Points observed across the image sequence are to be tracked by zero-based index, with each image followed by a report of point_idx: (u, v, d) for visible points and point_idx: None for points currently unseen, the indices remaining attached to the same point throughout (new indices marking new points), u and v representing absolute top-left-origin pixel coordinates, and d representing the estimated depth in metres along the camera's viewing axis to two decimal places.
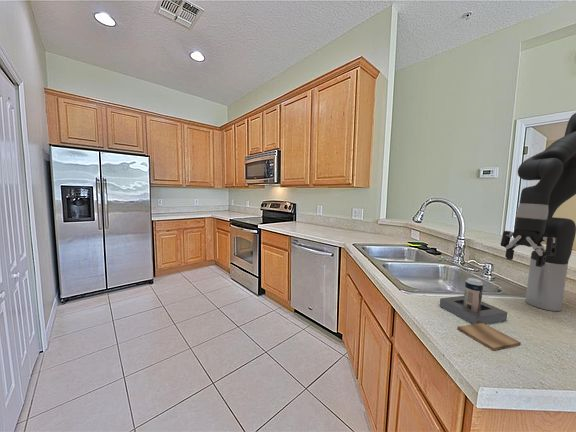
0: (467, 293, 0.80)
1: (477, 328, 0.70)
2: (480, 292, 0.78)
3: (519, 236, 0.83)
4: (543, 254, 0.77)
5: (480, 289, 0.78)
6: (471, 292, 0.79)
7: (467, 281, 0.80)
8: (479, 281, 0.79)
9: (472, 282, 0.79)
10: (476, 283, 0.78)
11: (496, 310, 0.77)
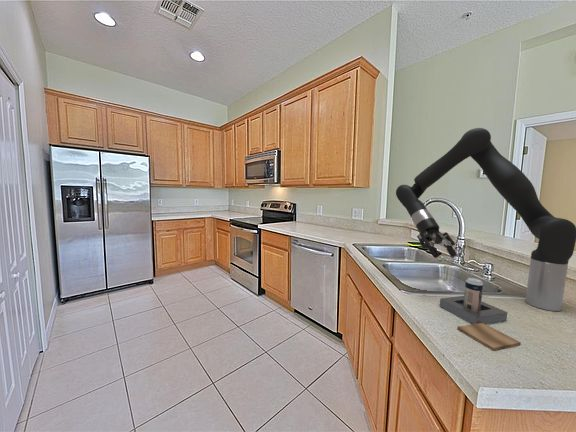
0: (467, 293, 0.80)
1: (477, 328, 0.70)
2: (480, 292, 0.78)
3: None
4: None
5: (480, 289, 0.78)
6: (471, 292, 0.79)
7: (467, 281, 0.80)
8: (479, 281, 0.79)
9: (472, 282, 0.79)
10: (476, 283, 0.78)
11: (496, 310, 0.77)
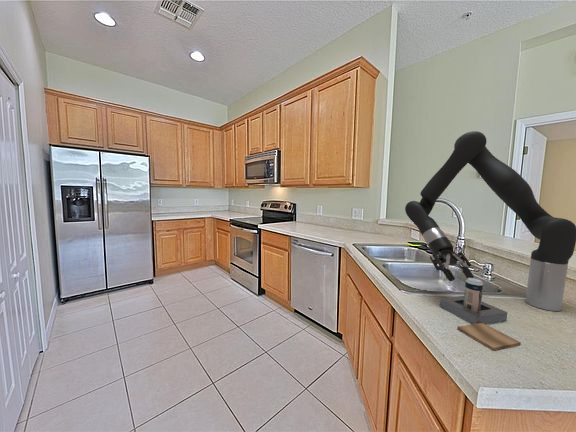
0: (467, 293, 0.80)
1: (477, 328, 0.70)
2: (480, 292, 0.78)
3: None
4: None
5: (480, 289, 0.78)
6: (471, 292, 0.79)
7: (467, 281, 0.80)
8: (479, 281, 0.79)
9: (472, 282, 0.79)
10: (476, 283, 0.78)
11: (496, 310, 0.77)
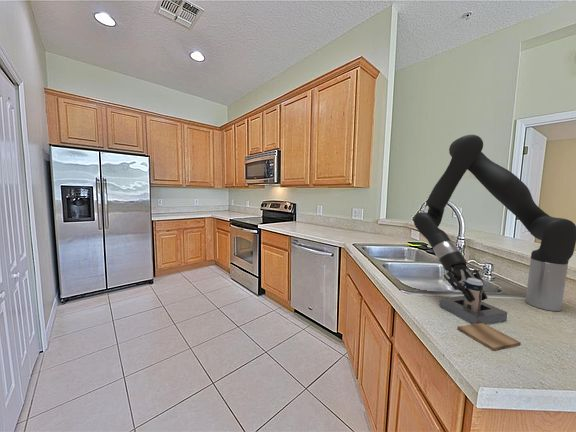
0: None
1: (477, 328, 0.70)
2: (480, 292, 0.78)
3: None
4: (460, 289, 0.81)
5: (480, 289, 0.78)
6: (471, 292, 0.79)
7: (467, 281, 0.80)
8: (479, 281, 0.79)
9: (472, 282, 0.79)
10: (476, 283, 0.78)
11: (496, 310, 0.77)
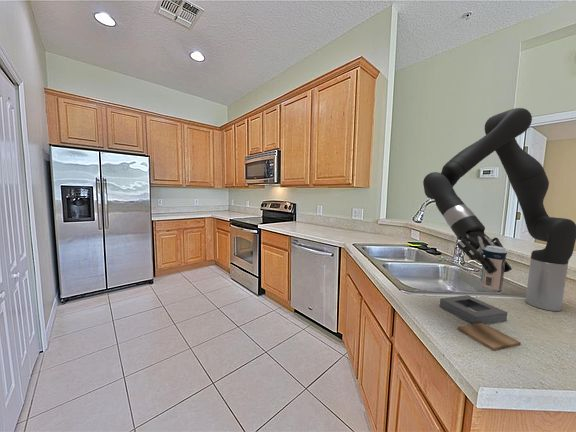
0: None
1: (477, 328, 0.70)
2: (503, 261, 0.64)
3: None
4: None
5: (503, 258, 0.63)
6: (492, 261, 0.64)
7: (486, 249, 0.66)
8: (502, 248, 0.64)
9: (493, 249, 0.64)
10: (498, 251, 0.64)
11: (496, 310, 0.77)
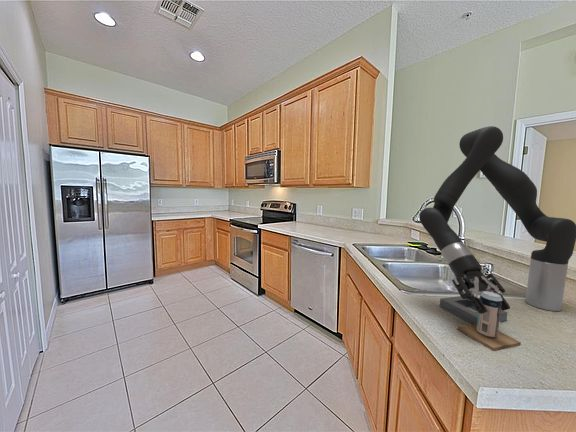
0: None
1: None
2: (499, 309, 0.65)
3: None
4: None
5: (499, 306, 0.65)
6: (488, 308, 0.66)
7: (482, 295, 0.67)
8: (497, 296, 0.66)
9: (489, 297, 0.65)
10: (494, 299, 0.65)
11: None
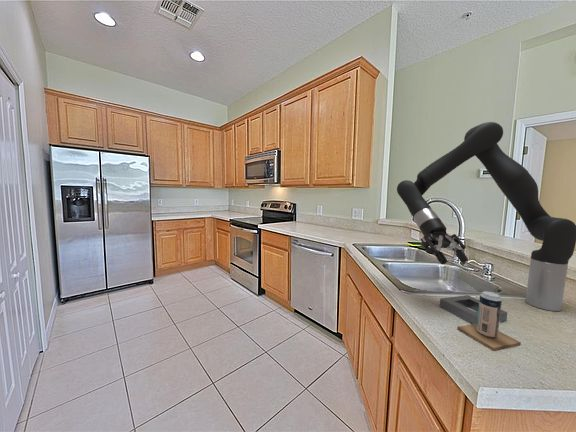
0: (482, 310, 0.67)
1: None
2: (498, 309, 0.65)
3: None
4: (433, 252, 0.79)
5: (498, 305, 0.65)
6: (487, 308, 0.66)
7: (482, 295, 0.67)
8: (497, 296, 0.66)
9: (489, 297, 0.65)
10: (494, 299, 0.65)
11: None
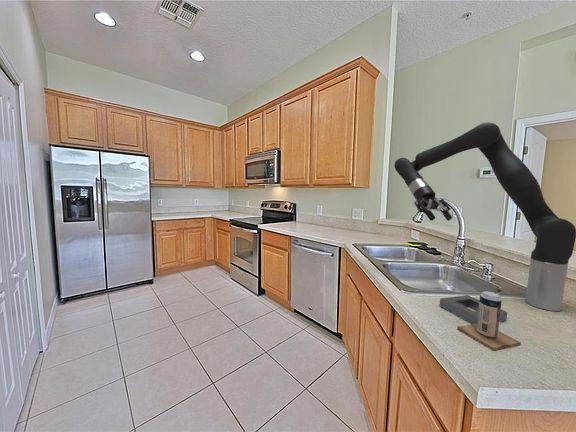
0: (482, 310, 0.67)
1: None
2: (498, 309, 0.65)
3: None
4: None
5: (498, 306, 0.65)
6: (487, 308, 0.66)
7: (482, 295, 0.67)
8: (497, 296, 0.66)
9: (489, 297, 0.65)
10: (494, 299, 0.65)
11: None
